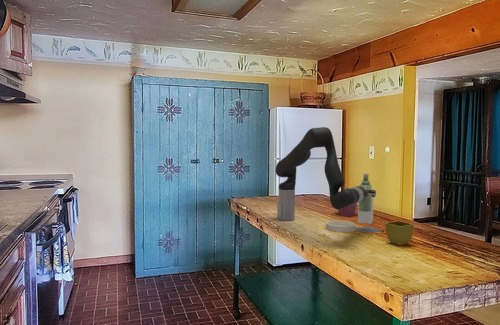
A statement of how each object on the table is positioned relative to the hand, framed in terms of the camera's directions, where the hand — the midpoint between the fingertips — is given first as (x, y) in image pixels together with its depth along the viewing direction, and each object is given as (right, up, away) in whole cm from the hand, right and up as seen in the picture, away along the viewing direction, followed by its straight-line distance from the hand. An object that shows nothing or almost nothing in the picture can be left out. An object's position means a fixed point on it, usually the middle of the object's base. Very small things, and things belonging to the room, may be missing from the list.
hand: (366, 191), depth 191 cm
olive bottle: (-1, -10, -1) cm, 10 cm away
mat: (0, -20, -1) cm, 20 cm away
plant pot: (0, -18, +38) cm, 42 cm away
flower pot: (+6, -21, -25) cm, 34 cm away
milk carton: (+4, -19, +16) cm, 25 cm away
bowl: (-13, -20, 0) cm, 23 cm away
